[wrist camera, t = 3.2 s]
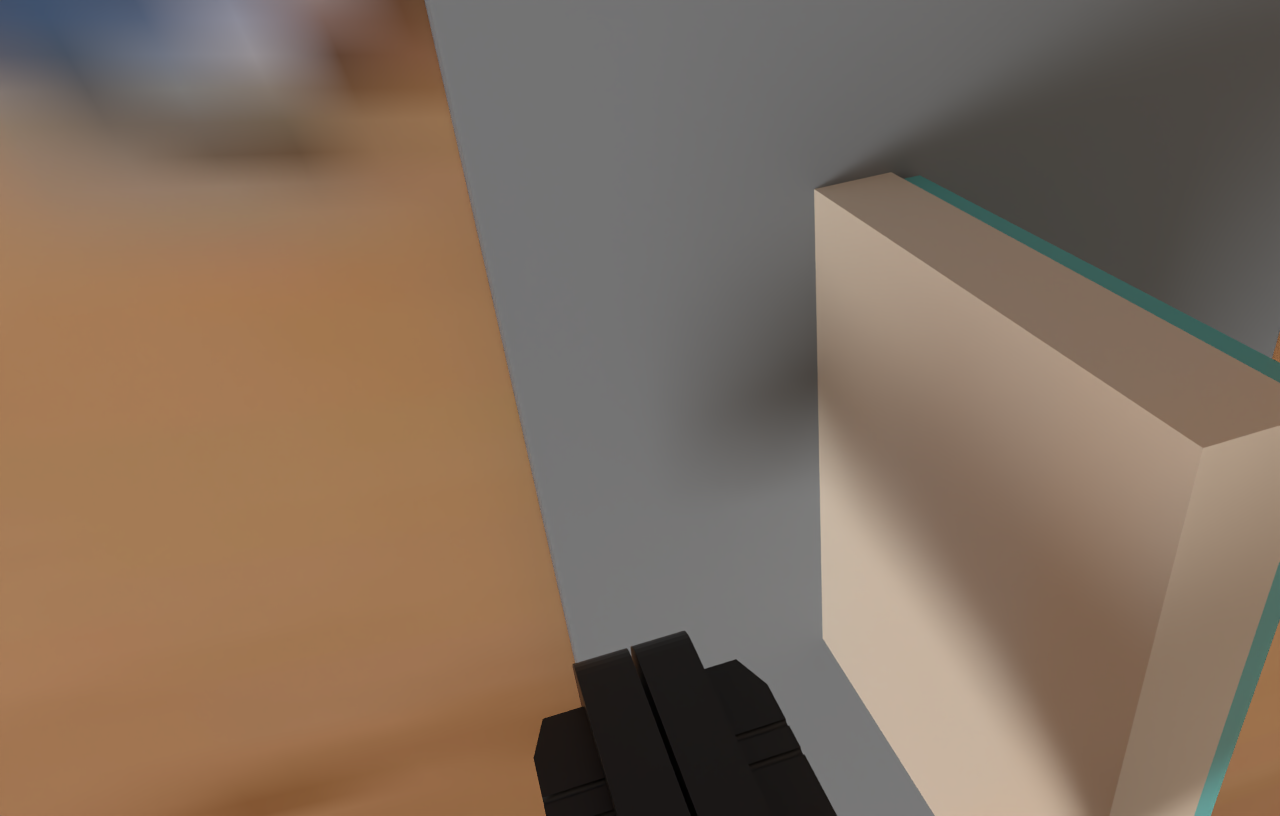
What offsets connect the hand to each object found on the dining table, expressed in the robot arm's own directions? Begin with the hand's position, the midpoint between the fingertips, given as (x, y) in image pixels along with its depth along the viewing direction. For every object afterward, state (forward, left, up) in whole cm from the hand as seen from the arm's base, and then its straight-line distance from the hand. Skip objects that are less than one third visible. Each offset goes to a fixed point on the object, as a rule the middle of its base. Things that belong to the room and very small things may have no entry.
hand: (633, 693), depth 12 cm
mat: (+1, +7, -4) cm, 8 cm away
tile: (0, +5, -4) cm, 6 cm away
